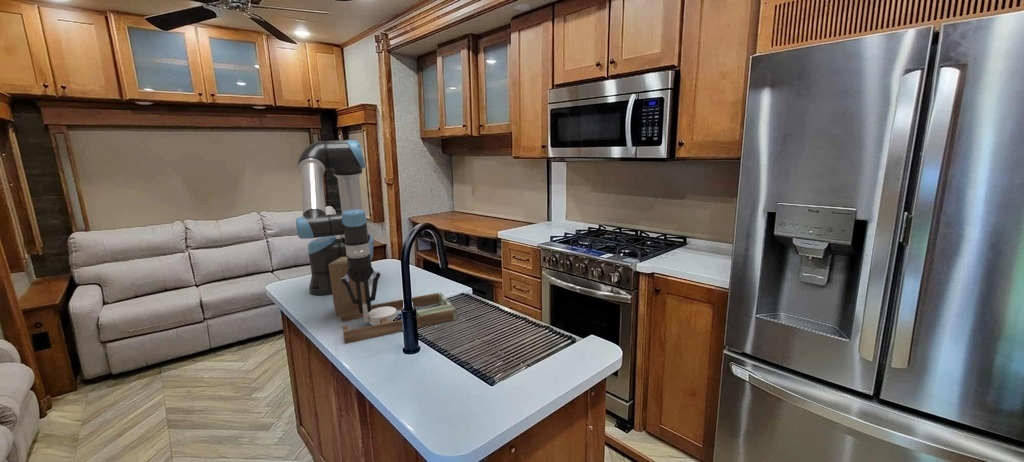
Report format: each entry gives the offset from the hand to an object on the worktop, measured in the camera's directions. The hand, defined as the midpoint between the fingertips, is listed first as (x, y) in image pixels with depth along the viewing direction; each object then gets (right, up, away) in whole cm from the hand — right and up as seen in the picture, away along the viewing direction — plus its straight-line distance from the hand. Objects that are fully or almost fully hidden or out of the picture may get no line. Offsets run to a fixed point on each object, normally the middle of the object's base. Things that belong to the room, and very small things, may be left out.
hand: (366, 320), depth 148 cm
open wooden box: (+10, -1, +3) cm, 10 cm away
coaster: (+5, -1, +4) cm, 6 cm away
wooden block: (-10, +1, +14) cm, 17 cm away
